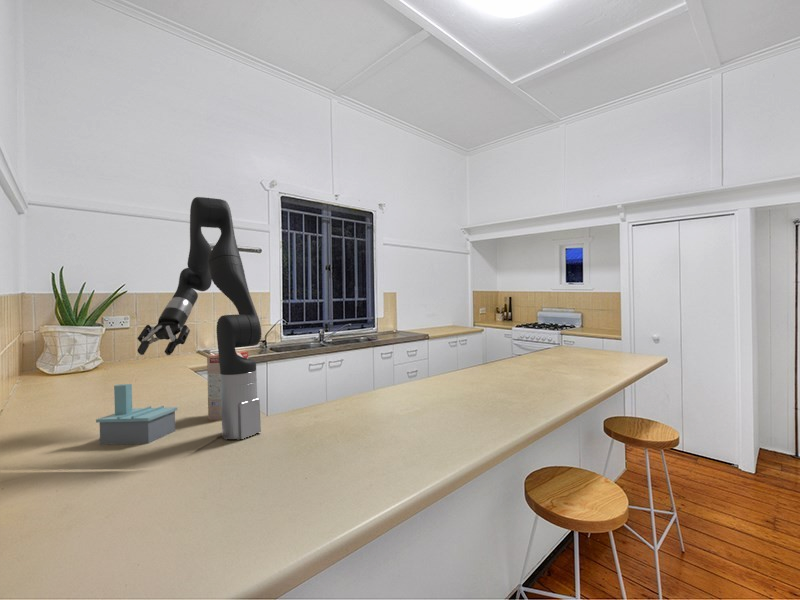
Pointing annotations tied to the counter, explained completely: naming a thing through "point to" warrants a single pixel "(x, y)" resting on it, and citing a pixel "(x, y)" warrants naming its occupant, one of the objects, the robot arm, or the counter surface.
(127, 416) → the lid
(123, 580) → the counter surface
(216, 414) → the cracker box
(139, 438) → the tub
